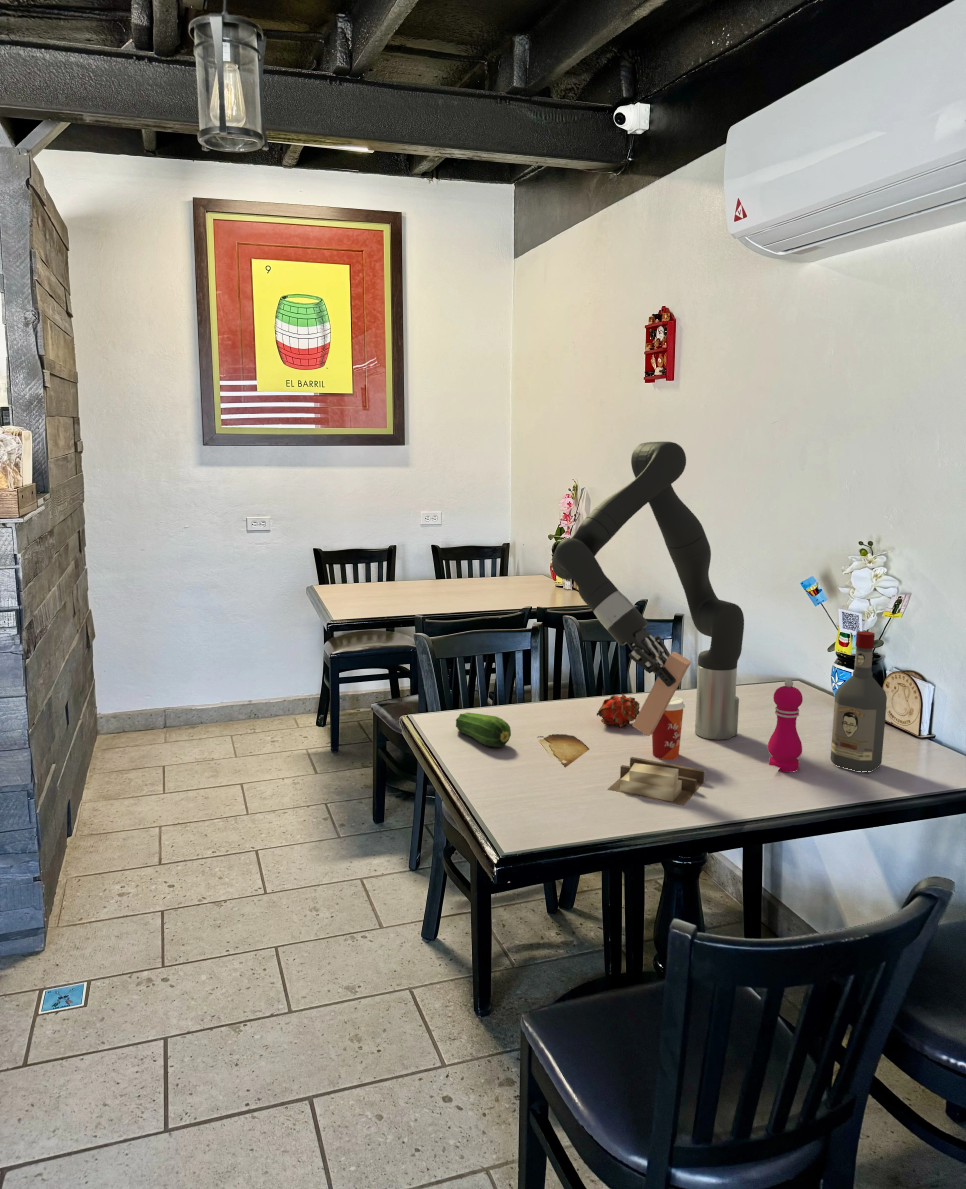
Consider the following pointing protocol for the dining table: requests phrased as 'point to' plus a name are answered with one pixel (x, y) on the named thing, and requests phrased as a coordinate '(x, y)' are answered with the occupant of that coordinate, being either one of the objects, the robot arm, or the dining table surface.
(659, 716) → the terracotta block
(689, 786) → the walnut rack
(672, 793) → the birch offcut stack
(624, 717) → the dragon fruit
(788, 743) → the pepper mill
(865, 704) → the liquor
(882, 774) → the dining table surface
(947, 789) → the dining table surface
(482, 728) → the vegetable
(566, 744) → the parchment
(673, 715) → the paper cup
